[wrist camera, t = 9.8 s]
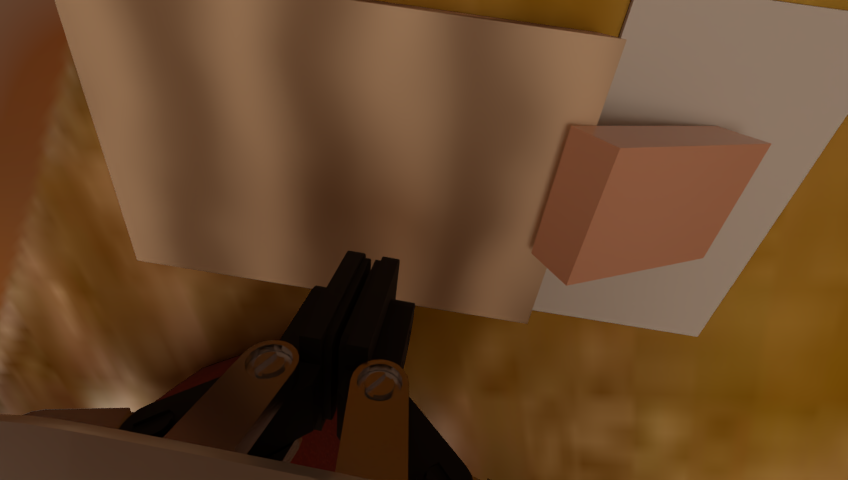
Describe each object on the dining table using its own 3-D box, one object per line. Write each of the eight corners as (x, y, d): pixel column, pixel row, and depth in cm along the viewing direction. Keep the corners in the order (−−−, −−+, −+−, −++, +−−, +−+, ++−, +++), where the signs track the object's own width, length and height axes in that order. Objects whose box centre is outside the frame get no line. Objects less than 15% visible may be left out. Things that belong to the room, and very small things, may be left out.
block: (716, 125, 19) (771, 143, 17) (661, 233, 22) (703, 258, 20) (571, 125, 15) (620, 148, 13) (531, 253, 19) (566, 285, 17)
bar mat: (904, 19, 16) (910, 19, 16) (695, 333, 26) (697, 336, 25) (637, -18, 17) (639, -18, 16) (527, 306, 26) (527, 309, 26)
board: (596, 32, 18) (626, 39, 14) (519, 279, 25) (527, 323, 22) (120, -36, 18) (40, -45, 15) (181, 225, 26) (137, 260, 22)
